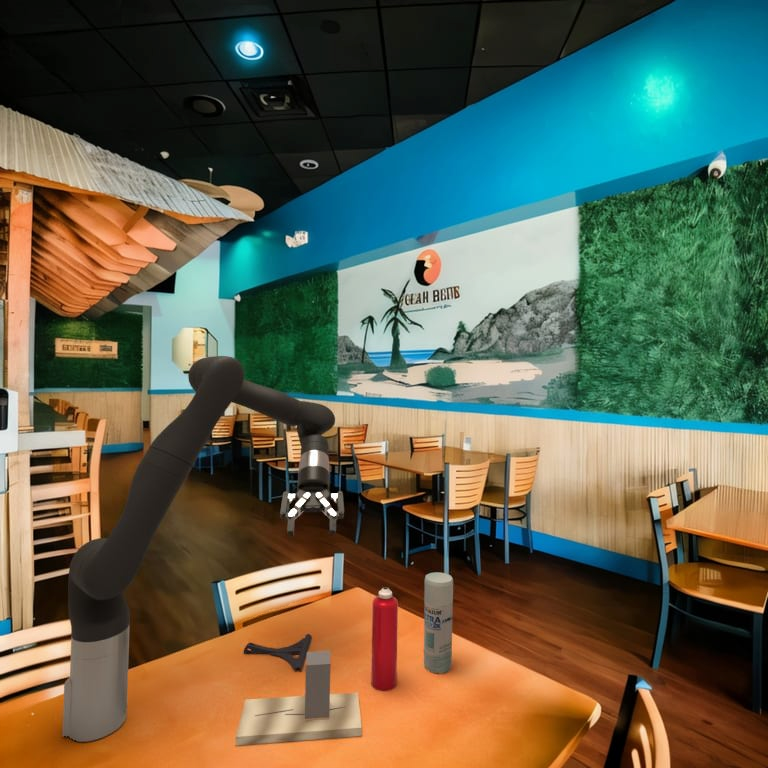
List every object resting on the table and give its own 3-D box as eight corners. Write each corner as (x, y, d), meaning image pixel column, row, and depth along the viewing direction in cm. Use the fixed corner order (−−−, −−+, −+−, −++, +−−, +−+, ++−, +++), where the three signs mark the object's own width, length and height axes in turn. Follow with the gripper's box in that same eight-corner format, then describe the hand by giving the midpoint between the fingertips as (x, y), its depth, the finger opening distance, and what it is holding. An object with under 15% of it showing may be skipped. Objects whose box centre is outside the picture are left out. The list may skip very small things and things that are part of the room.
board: (235, 745, 81) (235, 736, 81) (245, 707, 91) (245, 699, 91) (361, 736, 84) (361, 727, 84) (357, 699, 94) (357, 692, 94)
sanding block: (304, 720, 85) (305, 665, 86) (305, 704, 90) (306, 651, 90) (329, 719, 86) (330, 664, 86) (329, 702, 90) (330, 650, 91)
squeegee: (252, 639, 117) (253, 628, 117) (311, 640, 117) (311, 629, 117) (234, 674, 103) (234, 661, 103) (301, 675, 103) (301, 662, 103)
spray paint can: (417, 664, 107) (418, 576, 107) (437, 654, 111) (438, 569, 111) (438, 678, 102) (439, 585, 102) (457, 667, 106) (459, 578, 106)
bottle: (389, 694, 96) (390, 595, 96) (366, 685, 98) (368, 590, 99) (401, 680, 101) (402, 586, 101) (379, 672, 103) (380, 581, 104)
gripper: (283, 464, 110) (277, 526, 98) (343, 464, 112) (345, 525, 100) (284, 482, 115) (279, 544, 103) (342, 482, 117) (343, 542, 105)
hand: (311, 534), depth 102 cm, fingers open, 8 cm apart
